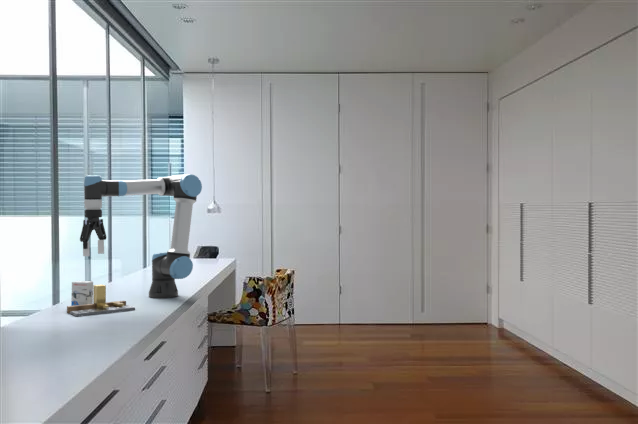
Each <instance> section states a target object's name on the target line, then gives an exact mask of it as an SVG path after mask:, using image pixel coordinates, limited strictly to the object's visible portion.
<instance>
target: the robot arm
mask: <svg viewBox="0 0 638 424" xmlns="http://www.w3.org/2000/svg"><path fill="white" fill-rule="evenodd" d="M83 179H84V180H83V181H84V182H83V191H84V202H83V204H84V218H86V219H83V220H82V229H81V232H80V237H79V241H80V242H81V243H82V256H83V257H90V253H91V252H90V241H89V240H90V237H91V235H92V232H93V231H95V233H96V236H97V238H98V239H97V254H98V255H100V254H102V255H103V254H105V240H107V232H106V230H105V225H104V219H103V218H102V217H103V210H102V208H103V197H125V196H126V197H127V196H142V195H143V196H144V195H158V196H160V197H162V196H164V197H165V196H166V197H167V196H168V197H173V200H174V201H175V207H174V208H175V209H174V215H173V216H174V218H173V226H172V232H171V233H172V235H171V241H170V243H171V244H170V248H169V249H168V250H167V251H166V252H157V253H154V254H153V255H151V259H152V260H151V284H150V286H149V290H148V297H149V298H154V299H165V298H166V299H169V298H175V297H178V296H179V290H178V286H177V284H176V280H179V279H180V280H182V279H185V278H187V277H188V276H190V275H191V273H192V271H193V269H194V268H193V267H194V264H193V261H192V259H191V252H190V251H189V250H188V249H189V240H190V232H191V224H192V216H193V208H194V207H193V206H194V203H196V202H197V197H198V196H199V195H200V194H201V192H202V189H203V184H202V181H201V180H200V178H199V177H198V176H197V175H195V174H191V173H184V174H174V175H169V176H164V177H163V176H162V177H158V178H157V179H137V180H134V179H133V180H119V179H117V180H111V179H110V180H107V179H102V176H101V175H85V177H84V178H83Z"/></svg>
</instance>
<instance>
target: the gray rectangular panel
mask: <svg viewBox="0 0 638 424" xmlns="http://www.w3.org/2000/svg"><path fill="white" fill-rule="evenodd" d="M129 310H131V311H135V310H136V307H135V306H133V305H132V306H131V305H129V304H126V305H125V306H122V307H119V306H116V307H108V308H97V309H88V310H78V311H70V313H69V314H70V315H72V316H74V317H85V316H93V315H102V314H111V313H112V312H113V313H119V311H122V312H130V311H129ZM113 313H112V314H113Z"/></svg>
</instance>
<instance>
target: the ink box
mask: <svg viewBox="0 0 638 424" xmlns="http://www.w3.org/2000/svg"><path fill="white" fill-rule="evenodd" d="M93 285H94V281H92V280H75V281H72V282H71V305H70V306H75V305H85V304H93Z"/></svg>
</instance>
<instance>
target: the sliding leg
mask: <svg viewBox="0 0 638 424" xmlns="http://www.w3.org/2000/svg"><path fill="white" fill-rule="evenodd" d="M106 289H107V286H106V284H93V304H95V303H96V309H97V308H108V307H109V305H106V302H107V299H106V298H107V297H106V296H107V291H106Z"/></svg>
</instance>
